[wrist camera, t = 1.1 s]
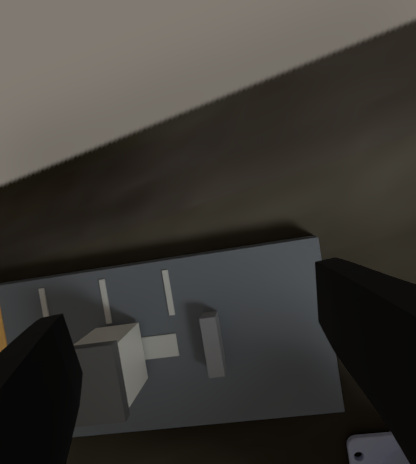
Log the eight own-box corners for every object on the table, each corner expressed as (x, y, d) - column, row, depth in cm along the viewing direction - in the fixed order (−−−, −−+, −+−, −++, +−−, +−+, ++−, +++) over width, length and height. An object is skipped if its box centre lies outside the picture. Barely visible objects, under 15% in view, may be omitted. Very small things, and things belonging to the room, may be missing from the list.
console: (338, 397, 21) (350, 424, 19) (-25, 433, 24) (-60, 461, 22) (313, 235, 21) (322, 239, 18) (-53, 291, 24) (-92, 301, 21)
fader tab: (150, 381, 21) (125, 422, 17) (104, 386, 21) (69, 427, 17) (139, 318, 21) (112, 344, 17) (93, 324, 21) (55, 352, 17)
